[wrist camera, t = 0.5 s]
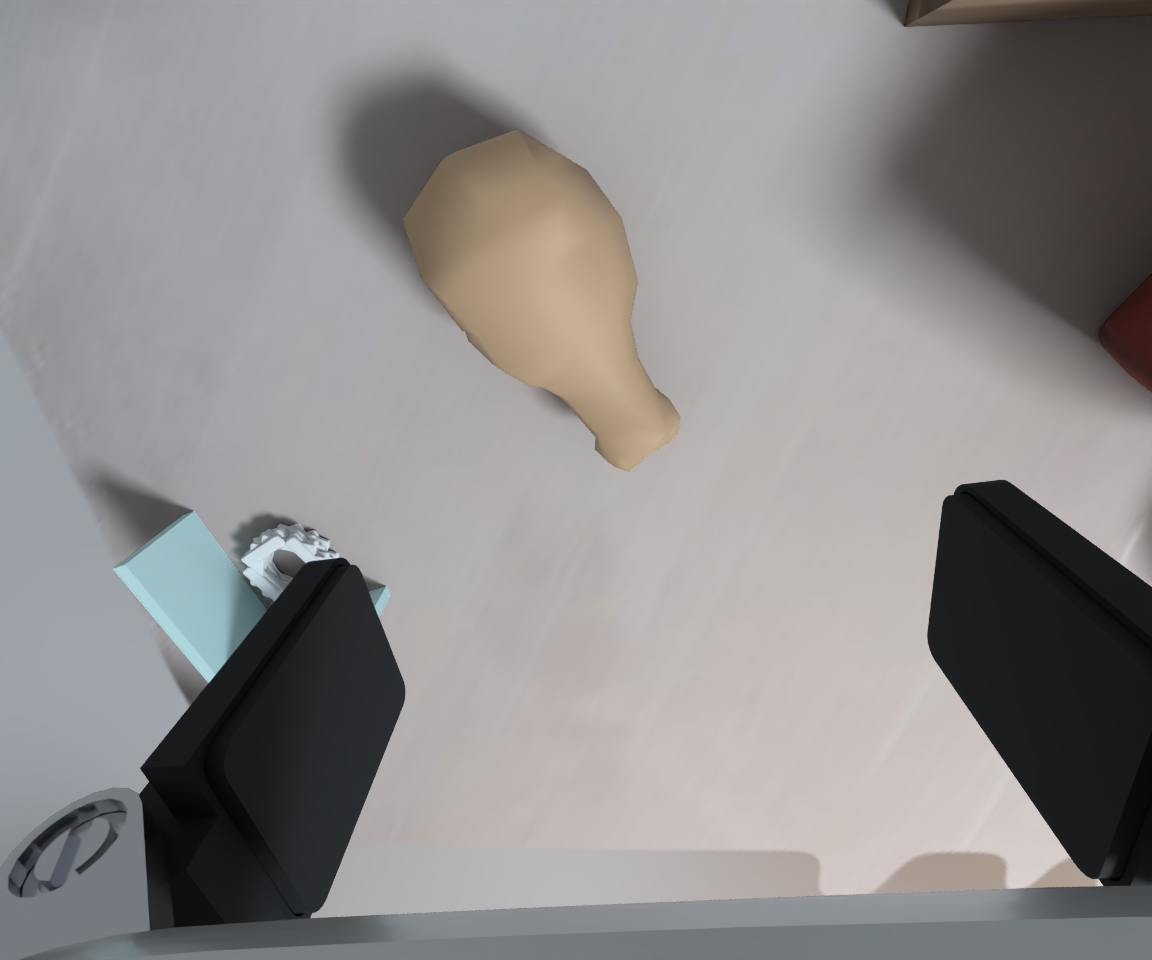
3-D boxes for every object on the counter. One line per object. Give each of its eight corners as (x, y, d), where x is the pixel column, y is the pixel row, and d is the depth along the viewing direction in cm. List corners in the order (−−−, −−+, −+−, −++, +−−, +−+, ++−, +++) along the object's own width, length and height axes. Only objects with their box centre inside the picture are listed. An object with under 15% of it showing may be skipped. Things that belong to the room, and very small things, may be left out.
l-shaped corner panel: (392, 592, 49) (357, 657, 42) (270, 628, 51) (218, 695, 44) (315, 467, 44) (262, 517, 37) (185, 513, 46) (112, 568, 39)
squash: (543, 89, 33) (521, 56, 24) (722, 381, 39) (752, 431, 31) (399, 214, 36) (338, 221, 28) (588, 464, 42) (583, 529, 34)
